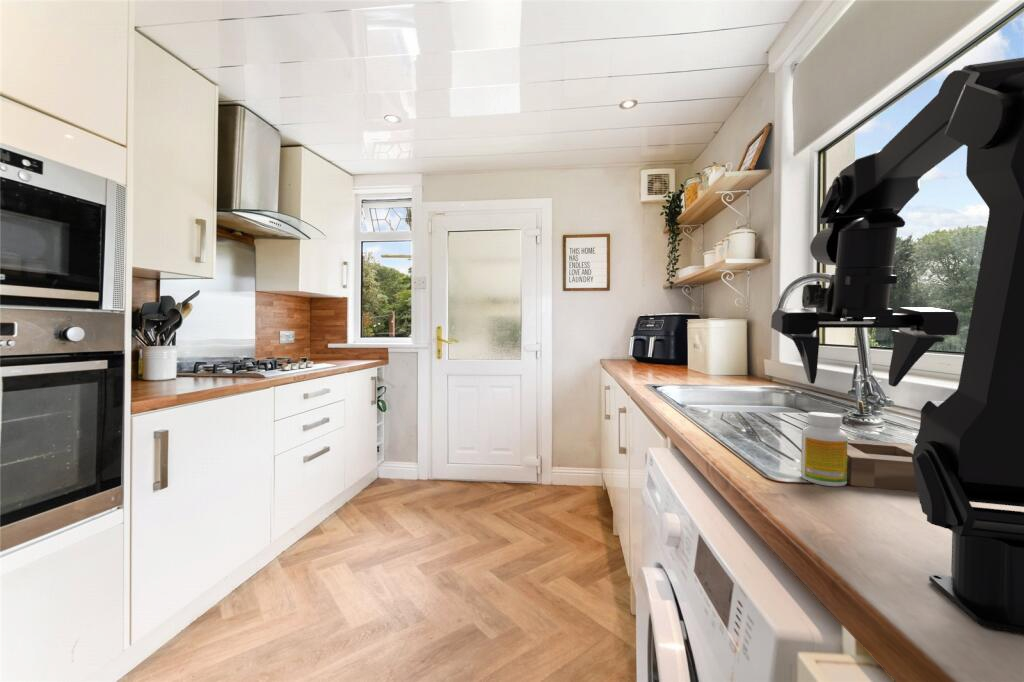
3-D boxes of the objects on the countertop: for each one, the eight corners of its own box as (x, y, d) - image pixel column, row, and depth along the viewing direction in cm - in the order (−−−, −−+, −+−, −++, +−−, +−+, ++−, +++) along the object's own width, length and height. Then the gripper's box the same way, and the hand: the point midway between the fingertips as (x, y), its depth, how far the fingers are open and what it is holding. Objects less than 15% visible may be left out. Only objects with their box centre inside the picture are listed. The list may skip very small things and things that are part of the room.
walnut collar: (958, 495, 57) (959, 465, 57) (851, 485, 60) (851, 457, 60) (906, 468, 68) (907, 443, 68) (818, 461, 72) (819, 437, 72)
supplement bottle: (855, 488, 59) (856, 418, 59) (811, 485, 60) (812, 417, 60) (834, 476, 64) (835, 411, 64) (794, 473, 65) (795, 410, 65)
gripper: (915, 262, 60) (901, 371, 63) (764, 268, 65) (757, 367, 68) (973, 264, 49) (953, 394, 52) (787, 270, 55) (779, 388, 58)
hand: (850, 384), depth 58 cm, fingers open, 9 cm apart
